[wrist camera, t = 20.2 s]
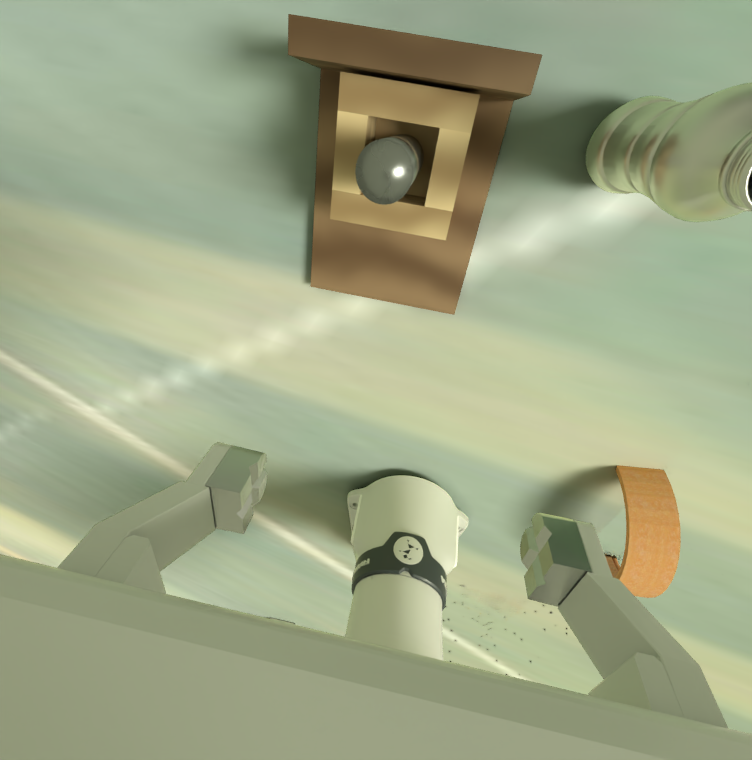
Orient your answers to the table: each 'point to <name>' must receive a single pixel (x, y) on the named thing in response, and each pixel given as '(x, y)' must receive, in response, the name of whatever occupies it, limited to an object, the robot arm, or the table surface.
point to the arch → (648, 532)
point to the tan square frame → (393, 117)
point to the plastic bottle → (679, 153)
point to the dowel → (389, 168)
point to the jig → (497, 92)
